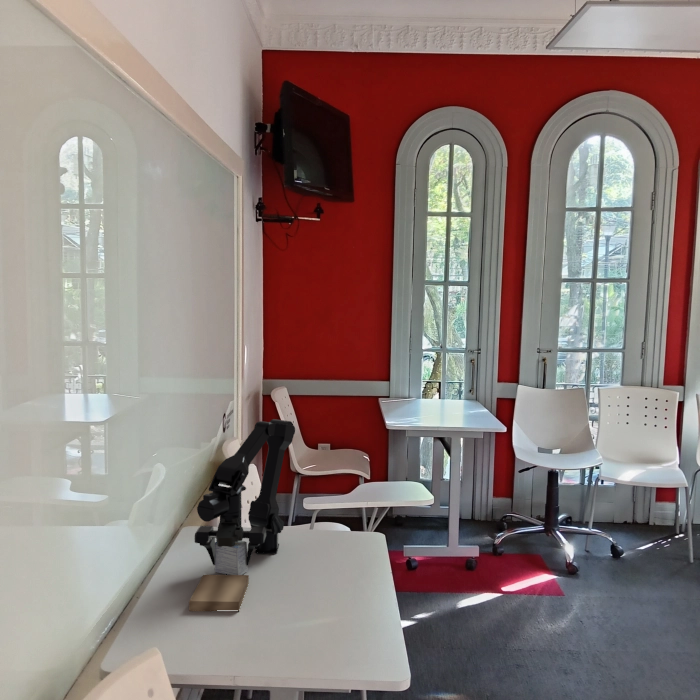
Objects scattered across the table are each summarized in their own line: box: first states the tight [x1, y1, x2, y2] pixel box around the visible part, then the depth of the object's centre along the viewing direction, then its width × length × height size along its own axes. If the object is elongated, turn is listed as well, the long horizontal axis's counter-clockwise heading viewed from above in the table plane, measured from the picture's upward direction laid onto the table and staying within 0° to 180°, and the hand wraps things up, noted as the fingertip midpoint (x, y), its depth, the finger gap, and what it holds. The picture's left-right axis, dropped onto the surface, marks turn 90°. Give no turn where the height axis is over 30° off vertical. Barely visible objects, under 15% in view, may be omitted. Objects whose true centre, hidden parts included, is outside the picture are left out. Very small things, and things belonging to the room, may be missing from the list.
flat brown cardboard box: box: [188, 574, 250, 612], centre depth 152 cm, size 12×14×3 cm
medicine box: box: [214, 540, 248, 575], centre depth 166 cm, size 8×4×9 cm, turn 65°
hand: (231, 564), depth 166 cm, fingers open, 9 cm apart
